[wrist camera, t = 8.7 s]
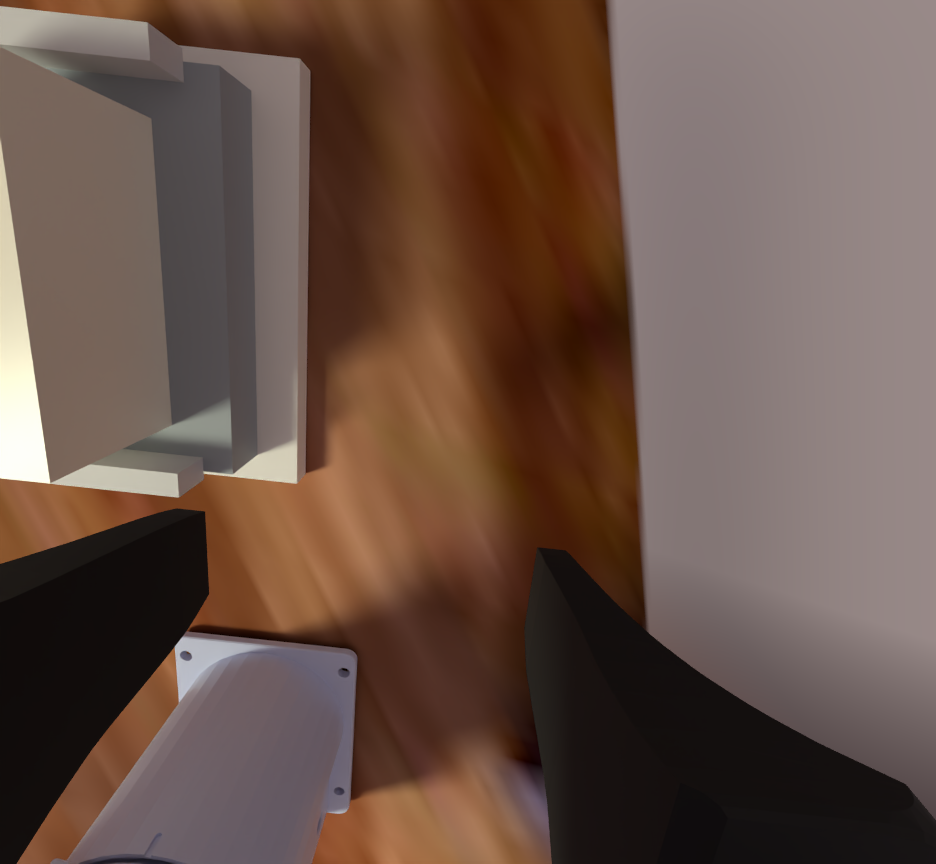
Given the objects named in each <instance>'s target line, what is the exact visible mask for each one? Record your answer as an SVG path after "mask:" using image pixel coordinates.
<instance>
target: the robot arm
mask: <svg viewBox="0 0 936 864" xmlns="http://www.w3.org/2000/svg"><path fill="white" fill-rule="evenodd" d="M208 595H209V582H208V562H207V543H206V523H205V512H204V511H195V510H186V509H173V510H168V511H164V512H160V513H157V514H153V515H150V516H147V517H143V518H140V519H137V520H134V521H131V522H128V523H125V524H122V525H119V526H117V527H114V528H111V529H108V530H105V531H102V532H99V533H96V534H93V535H90V536H87V537H84V538H81V539H78V540H76V541H73V542H70V543H66V544H63V545H60V546H57V547H54V548H50V549H47V550H44V551H41V552H38V553H35V554H31V555H28V556H25V557H22V558H19V559H15V560H12V561H9V562H5V563H2V564H0V864H17V862H18V860H19V859H20V857H21V856H22V854H23V853H24V851H25V849H26V848H27V846H28V845H29V843H30V842H31V840H32V839H33V837H34V835H35V834H36V832H37V831H38V829H39V828H40V826H41V824H42V823H43V821H44V820H45V818H46V817H47V815H48V814H49V812H50V810H51V809H52V807H53V806H54V804H55V803H56V801H57V800H58V798H59V797H60V795H61V794H62V793H63V791H64V790H65V788H66V787H67V785H68V784H69V782H70V781H71V779H72V778H73V776H74V775H75V773H76V772H77V770H78V769H79V767H80V766H81V764H82V763H83V761H84V760H85V759H86V757H87V756H88V754H89V753H90V751H91V750H92V749H93V747H94V746H95V745H96V744H97V742H98V741H99V740H100V738H101V737H102V736H103V734H104V733H105V732H106V730H107V729H108V728H109V727H110V725H111V724H112V723H113V722H114V721H115V719H116V718H117V717H118V716H119V714H120V713H121V712H122V711H123V710H124V708H125V707H126V706H127V705H128V703H129V702H130V701H131V700H132V699H133V697H134V696H135V695H136V694H137V692H138V691H139V690H140V689H141V688H142V686H143V685H144V684H145V683H146V682H147V680H148V679H149V678H150V677H151V675H152V674H153V673H154V672H155V671H156V669H157V668H158V667H159V666H160V664H161V663H162V662H163V661H164V659H165V658H166V657H167V656H168V654H169V653H170V652H171V651H172V649H173V648H174V647H175V655H176V668H177V682H178V695H179V704H178V705H177V707H176V708H175V709H174V711H173V712H172V714H171V715H170V716H169V718H168V719H167V721H166V722H165V723H164V725H163V726H162V728H161V729H160V730H159V732H158V733H157V735H156V736H155V737H154V739H153V740H152V742H151V743H150V744H149V746H148V747H147V749H146V750H145V751H144V753H143V754H142V756H141V757H140V758H139V760H138V761H137V763H136V764H135V765H134V767H133V768H132V770H131V771H130V772H129V774H128V775H127V777H126V778H125V779H124V781H123V782H122V784H121V785H120V786H119V788H118V789H117V791H116V792H115V793H114V795H113V796H112V798H111V799H110V800H109V802H108V803H107V805H106V806H105V807H104V809H103V810H102V812H101V813H100V814H99V816H98V817H97V819H96V820H95V821H94V823H93V824H92V826H91V827H90V828H89V830H88V831H87V833H86V834H85V835H84V837H83V838H82V840H81V841H80V842H79V844H78V845H77V847H76V848H75V849H74V851H73V852H72V854H71V855H70V856H69V858H68V859H67V861H65V860H62V859H59V858H57V859H54V860H53V861H52V862H51V863H50V864H312V860H313V857H314V854H315V850H316V847H317V843H318V840H319V837H320V833H321V830H322V826H323V823H324V820H325V816H326V813H327V812H328V813H337V814H340V813H344V812H346V811H347V810H348V808H349V805H350V799H351V779H352V759H353V739H354V718H355V698H356V678H357V655H356V654H355V652H353V651H352V650H350V649H345V648H336V647H327V646H317V645H308V644H299V643H289V642H280V641H271V640H262V639H252V638H243V637H234V636H224V635H215V634H206V633H196V632H186V631H187V629H188V628H189V626H190V625H191V623H192V622H193V620H194V618H195V617H196V615H197V614H198V612H199V610H200V608H201V607H202V605H203V603H204V602H205V600H206V598H207V596H208ZM524 629H525V655H526V672H527V678H528V685H529V691H530V697H531V703H532V709H533V715H534V721H535V726H536V732H537V738H538V744H539V750H540V756H541V762H542V767H543V773H544V780H545V788H546V796H547V804H548V817H549V830H550V844H551V857H552V864H936V820H935V819H934V818H933V816H932V815H931V814H930V813H929V812H928V810H927V809H926V808H925V807H924V806H923V805H922V803H921V802H920V801H919V800H918V798H917V797H916V796H915V795H914V794H913V793H912V791H911V790H910V789H909V788H908V786H906V784H904V783H902V782H900V781H898V780H895V779H893V778H891V777H889V776H887V775H885V774H883V773H881V772H879V771H876V770H874V769H872V768H870V767H868V766H866V765H864V764H861V763H859V762H857V761H855V760H853V759H851V758H849V757H847V756H844V755H842V754H840V753H838V752H836V751H834V750H832V749H830V748H827V747H825V746H823V745H821V744H819V743H817V742H815V741H814V740H812V739H810V738H808V737H806V736H804V735H802V734H801V733H799V732H797V731H795V730H793V729H791V728H789V727H788V726H786V725H784V724H782V723H780V722H778V721H777V720H775V719H773V718H771V717H769V716H768V715H766V714H764V713H762V712H761V711H759V710H757V709H756V708H754V707H752V706H751V705H749V704H747V703H746V702H744V701H742V700H741V699H739V698H738V697H736V696H734V695H733V694H731V693H730V692H728V691H727V690H725V689H724V688H722V687H721V686H719V685H717V684H716V683H714V682H713V681H711V680H710V679H708V678H706V677H705V676H704V675H702V674H701V673H700V672H698V671H697V670H695V669H694V668H692V667H691V666H690V665H688V664H687V663H686V662H684V661H683V660H682V659H680V658H679V657H678V656H676V655H675V654H674V653H673V652H671V651H670V650H669V649H667V648H666V647H665V646H663V645H662V644H661V643H660V642H659V641H657V640H656V639H655V638H654V637H652V636H651V635H650V634H649V633H648V632H647V631H646V630H645V629H643V628H642V627H641V626H640V625H639V624H638V623H637V622H636V621H634V620H633V619H632V618H631V617H630V616H629V615H628V614H627V613H626V612H625V611H624V610H623V609H622V608H620V607H619V606H618V605H617V604H616V603H615V602H614V601H613V600H612V599H611V598H610V597H609V596H608V595H607V594H606V593H605V592H604V591H603V590H602V588H601V587H600V586H599V585H598V584H597V583H596V582H595V581H594V580H593V579H592V578H591V577H590V576H589V575H588V574H587V573H586V571H585V570H584V569H583V568H582V567H581V566H580V565H579V564H578V563H577V562H576V561H575V560H574V558H573V557H572V556H571V555H570V554H569V553H568V552H567V551H565V550H556V549H547V548H538V547H537V553H536V559H535V565H534V571H533V578H532V584H531V590H530V596H529V603H528V609H527V615H526V621H525V627H524ZM186 651H188V652H189V653H191V654H188V653H187V652H186ZM341 668H346V669H348V670H349V671H344V670H342V669H341Z"/></svg>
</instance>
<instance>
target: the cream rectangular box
mask: <svg viewBox="0 0 936 864" xmlns="http://www.w3.org/2000/svg"><path fill="white" fill-rule="evenodd" d="M171 425H172V418H171V403H170V388H169V374H168V359H167V344H166V329H165V314H164V299H163V284H162V269H161V254H160V239H159V224H158V210H157V195H156V180H155V165H154V150H153V135H152V120H151V118H149V117H147V116H145V115H143V114H141V113H139V112H136V111H134V110H132V109H130V108H128V107H126V106H124V105H122V104H120V103H117V102H115V101H113V100H111V99H109V98H107V97H105V96H103V95H101V94H98V93H96V92H94V91H92V90H90V89H88V88H86V87H84V86H82V85H79V84H77V83H75V82H73V81H71V80H69V79H67V78H65V77H63V76H60V75H58V74H56V73H54V72H52V71H50V70H48V69H46V68H44V67H41V66H39V65H37V64H35V63H33V62H31V61H29V60H27V59H25V58H22V57H20V56H18V55H16V54H14V53H12V52H10V51H8V50H6V49H3V48H1V47H0V478H5V479H15V480H24V481H33V482H42V483H52V482H54V481H56V480H58V479H60V478H62V477H64V476H67V475H69V474H71V473H73V472H75V471H77V470H79V469H81V468H83V467H85V466H88V465H90V464H92V463H94V462H96V461H98V460H100V459H102V458H104V457H106V456H108V455H111V454H113V453H115V452H117V451H119V450H121V449H123V448H125V447H127V446H129V445H131V444H134V443H136V442H138V441H140V440H142V439H144V438H146V437H148V436H150V435H152V434H155V433H157V432H159V431H161V430H163V429H165V428H167V427H169V426H171Z"/></svg>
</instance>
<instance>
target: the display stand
mask: <svg viewBox="0 0 936 864" xmlns="http://www.w3.org/2000/svg"><path fill="white" fill-rule="evenodd" d="M0 47H1V48H3V49H6V50H8V51H10V52H12V53H14V54H16V55H18V56H20V57H22V58H25V59H27V60H29V61H31V62H33V63H35V64H37V65H39V66H41V67H44V68H46V69H48V70H50V71H52V72H54V73H56V74H58V75H60V76H63V77H65V78H67V79H69V80H71V81H73V82H75V83H77V84H79V85H82V86H84V87H86V88H88V89H90V90H92V91H94V92H96V93H98V94H101V95H103V96H105V97H107V98H109V99H111V100H113V101H115V102H117V103H120V104H122V105H124V106H126V107H128V108H130V109H132V110H134V111H136V112H139V113H141V114H143V115H145V116H147V117H149V118H151V120H152V135H153V150H154V165H155V180H156V195H157V210H158V224H159V239H160V254H161V269H162V284H163V299H164V314H165V329H166V344H167V359H168V374H169V388H170V403H171V418H172V425H171V426H169V427H167V428H165V429H163V430H161V431H159V432H157V433H155V434H152V435H150V436H148V437H146V438H144V439H142V440H140V441H138V442H136V443H134V444H131V445H129V446H127V447H125V448H123V449H121V450H119V451H117V452H115V453H113V454H111V455H108V456H106V457H104V458H102V459H100V460H98V461H96V462H94V463H92V464H90V465H88V466H85V467H83V468H81V469H79V470H77V471H75V472H73V473H71V474H69V475H67V476H64V477H62V478H60V479H58V480H56V481H54V482H52V483H49V484H59V485H68V486H77V487H86V488H96V489H105V490H114V491H123V492H133V493H142V494H151V495H161V496H170V497H180V496H182V495H183V494H184V493H186V492H187V491H189V490H190V489H191V488H193V487H194V486H195V485H197V484H198V483H200V482H201V481H202V480H204V474H213V475H222V476H231V477H241V478H250V479H259V480H268V481H278V482H287V483H296V484H297V483H298V482H299V481H300V480H301V478H302V477H303V476H304V475H305V474H306V398H307V316H308V233H309V151H310V70H309V69H308V68H307V66H306V65H305V64H304V63H303V62H302V60H301V59H300V58H291V57H282V56H273V55H263V54H254V53H245V52H236V51H227V50H218V49H208V48H199V47H190V46H181V45H177V44H176V43H174V42H173V41H172V40H170V39H169V38H168V37H166V36H165V35H164V34H162V33H161V32H160V31H158V30H157V29H156V28H154V27H153V26H152V25H150V24H149V23H148V22H139V21H130V20H121V19H112V18H103V17H94V16H84V15H75V14H66V13H57V12H48V11H39V10H29V9H20V8H11V7H2V6H0ZM3 479H5V478H3ZM12 480H15V479H12ZM21 481H24V480H21ZM31 482H33V481H31ZM40 483H42V482H40Z"/></svg>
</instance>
